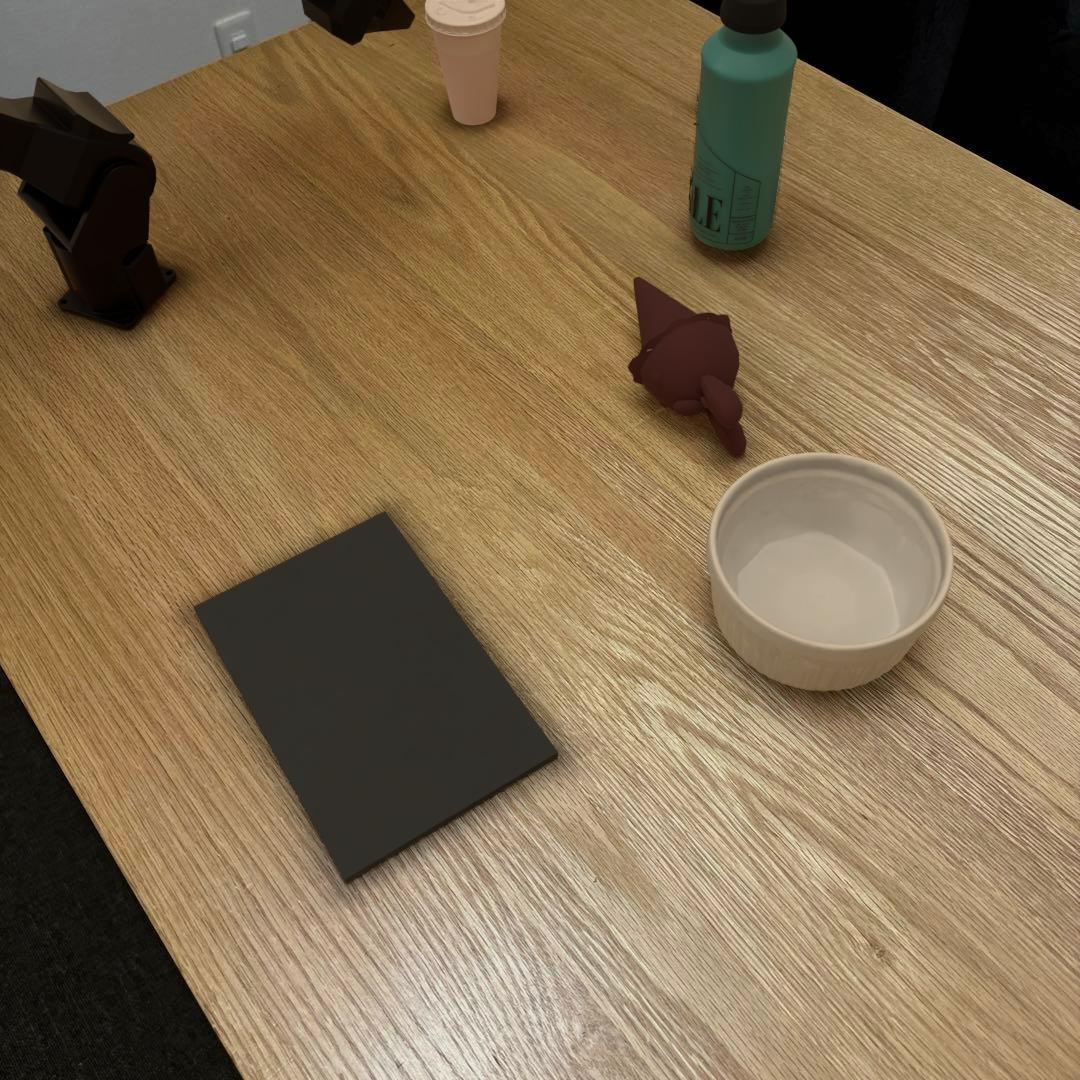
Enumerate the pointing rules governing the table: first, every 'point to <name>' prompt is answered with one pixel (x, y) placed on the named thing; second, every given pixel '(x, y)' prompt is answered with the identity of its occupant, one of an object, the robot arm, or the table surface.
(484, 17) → the smoothie
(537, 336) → the table surface
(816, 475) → the ramekin
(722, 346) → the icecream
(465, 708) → the mat
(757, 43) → the beverage bottle
